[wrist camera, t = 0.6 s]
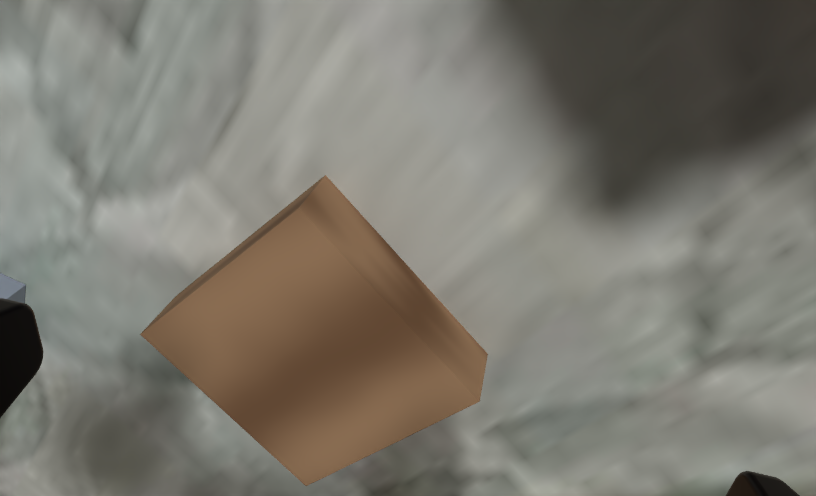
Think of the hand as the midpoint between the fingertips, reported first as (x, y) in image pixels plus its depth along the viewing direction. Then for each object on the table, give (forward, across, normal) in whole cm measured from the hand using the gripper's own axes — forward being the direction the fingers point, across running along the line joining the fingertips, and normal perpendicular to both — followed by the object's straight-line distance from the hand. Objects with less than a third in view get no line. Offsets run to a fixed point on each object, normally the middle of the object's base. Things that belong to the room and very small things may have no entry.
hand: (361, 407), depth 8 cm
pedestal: (+14, -4, -10) cm, 18 cm away
